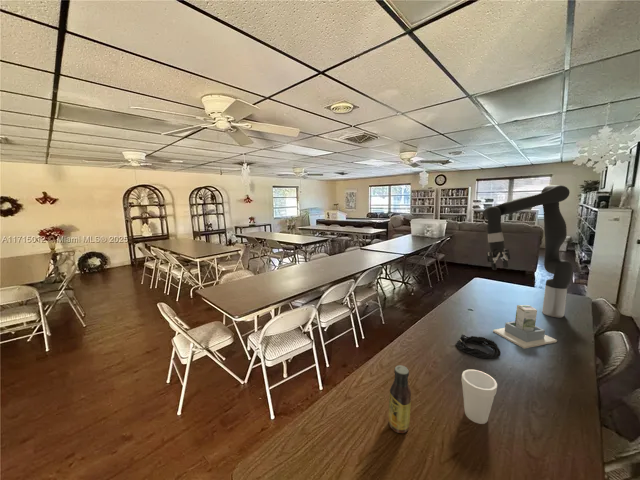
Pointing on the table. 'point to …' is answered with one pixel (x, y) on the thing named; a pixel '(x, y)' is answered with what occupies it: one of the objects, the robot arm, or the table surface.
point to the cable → (478, 352)
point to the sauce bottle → (400, 401)
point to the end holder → (524, 336)
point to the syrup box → (525, 318)
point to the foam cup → (478, 395)
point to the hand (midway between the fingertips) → (500, 268)
